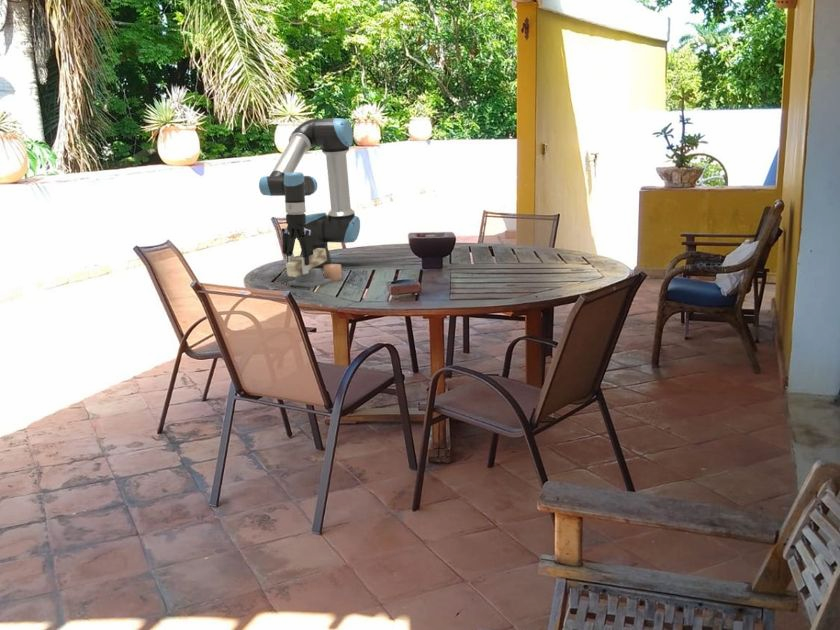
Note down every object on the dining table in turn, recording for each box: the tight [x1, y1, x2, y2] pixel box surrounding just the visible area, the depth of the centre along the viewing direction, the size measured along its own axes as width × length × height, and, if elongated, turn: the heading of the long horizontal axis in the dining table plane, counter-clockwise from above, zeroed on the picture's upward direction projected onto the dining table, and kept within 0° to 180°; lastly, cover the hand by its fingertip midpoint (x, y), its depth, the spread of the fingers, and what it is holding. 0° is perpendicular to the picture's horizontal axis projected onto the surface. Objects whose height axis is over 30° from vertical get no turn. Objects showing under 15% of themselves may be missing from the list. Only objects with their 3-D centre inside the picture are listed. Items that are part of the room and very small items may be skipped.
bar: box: [285, 248, 327, 278], centre depth 318 cm, size 20×4×5 cm, turn 148°
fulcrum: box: [287, 267, 332, 288], centre depth 320 cm, size 12×12×6 cm
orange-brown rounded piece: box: [323, 263, 343, 282], centre depth 327 cm, size 7×7×6 cm
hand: (298, 272), depth 314 cm, fingers open, 6 cm apart
